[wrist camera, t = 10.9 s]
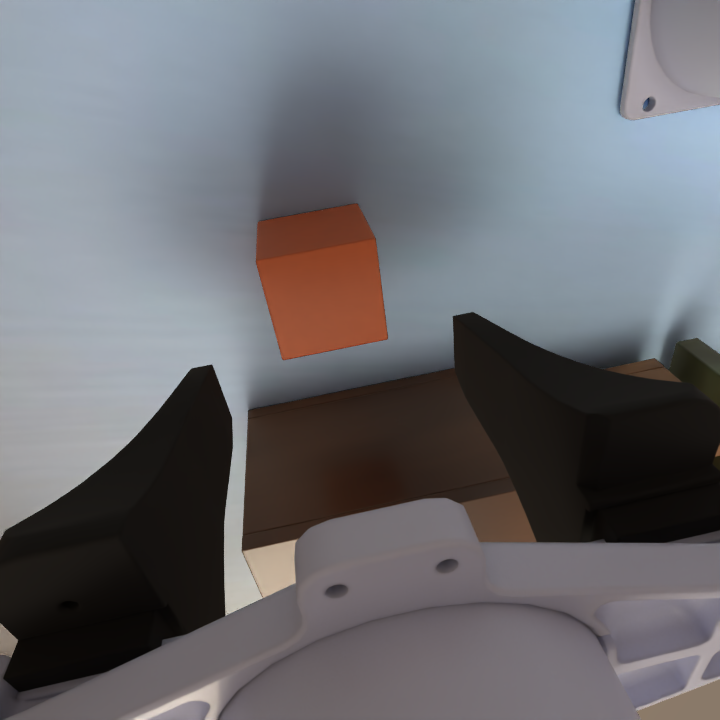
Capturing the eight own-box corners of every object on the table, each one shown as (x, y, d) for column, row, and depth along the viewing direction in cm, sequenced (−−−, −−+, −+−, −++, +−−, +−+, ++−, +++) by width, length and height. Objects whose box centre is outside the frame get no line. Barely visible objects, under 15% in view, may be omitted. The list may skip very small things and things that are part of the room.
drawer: (784, 319, 27) (918, 394, 21) (725, 465, 33) (817, 552, 28) (460, 386, 26) (513, 483, 20) (464, 522, 32) (505, 625, 27)
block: (357, 202, 21) (375, 237, 17) (369, 293, 23) (388, 340, 20) (256, 221, 21) (255, 260, 17) (280, 310, 23) (282, 361, 19)
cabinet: (509, 356, 26) (596, 473, 20) (503, 508, 33) (565, 634, 27) (247, 409, 26) (241, 551, 19) (297, 554, 33) (306, 695, 26)
